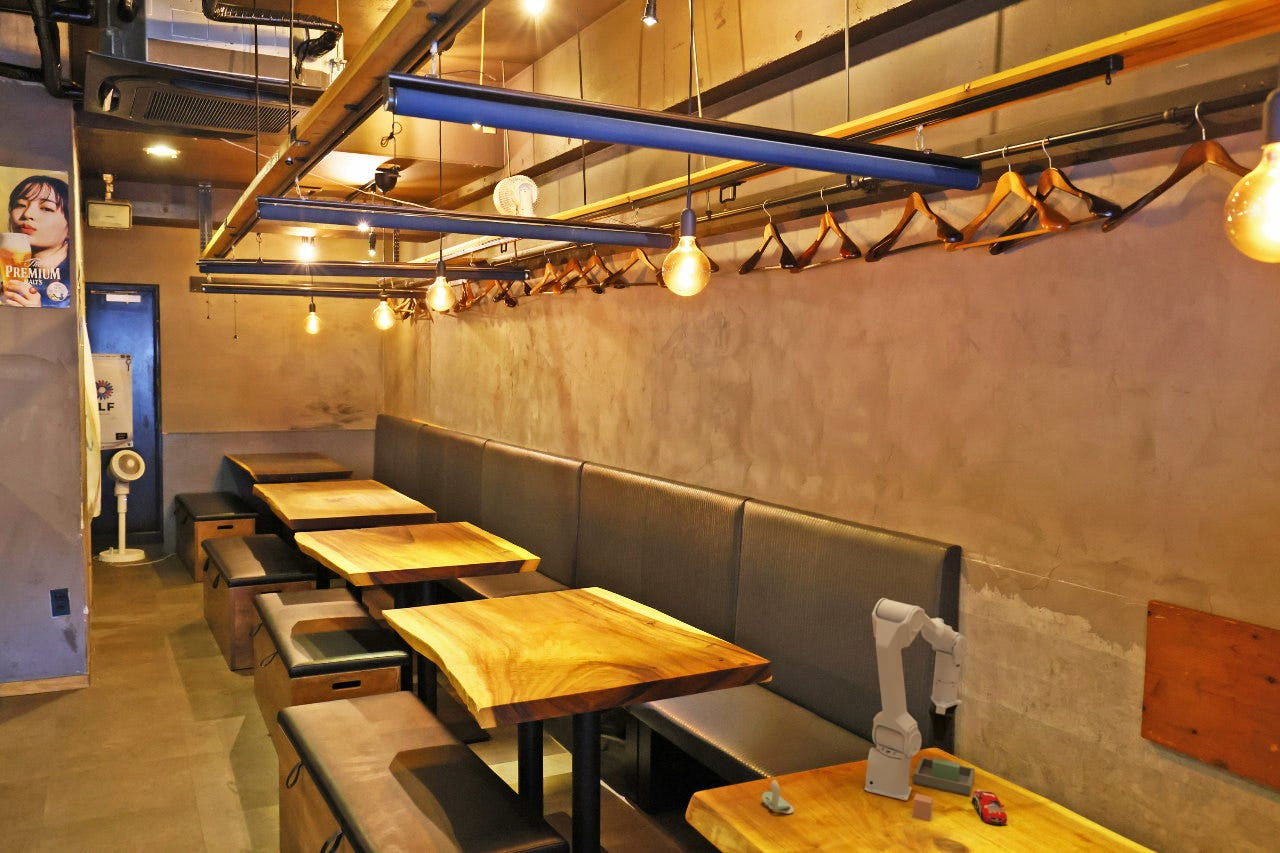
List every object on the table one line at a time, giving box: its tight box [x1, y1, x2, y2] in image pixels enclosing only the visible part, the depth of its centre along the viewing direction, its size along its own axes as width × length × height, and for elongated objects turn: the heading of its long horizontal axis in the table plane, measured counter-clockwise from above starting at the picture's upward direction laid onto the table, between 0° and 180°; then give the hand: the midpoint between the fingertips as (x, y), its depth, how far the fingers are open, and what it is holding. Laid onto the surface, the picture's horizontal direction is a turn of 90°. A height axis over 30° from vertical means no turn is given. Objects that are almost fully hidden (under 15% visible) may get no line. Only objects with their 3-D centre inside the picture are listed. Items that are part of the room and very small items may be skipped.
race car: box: [971, 789, 1008, 826], centre depth 210 cm, size 13×5×4 cm, turn 172°
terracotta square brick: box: [912, 793, 934, 822], centre depth 205 cm, size 4×4×4 cm
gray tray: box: [912, 756, 976, 798], centre depth 226 cm, size 13×13×2 cm
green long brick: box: [931, 757, 961, 782], centre depth 226 cm, size 6×4×4 cm, turn 67°
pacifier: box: [761, 779, 795, 815], centre depth 203 cm, size 7×6×6 cm
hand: (940, 735), depth 230 cm, fingers open, 7 cm apart
